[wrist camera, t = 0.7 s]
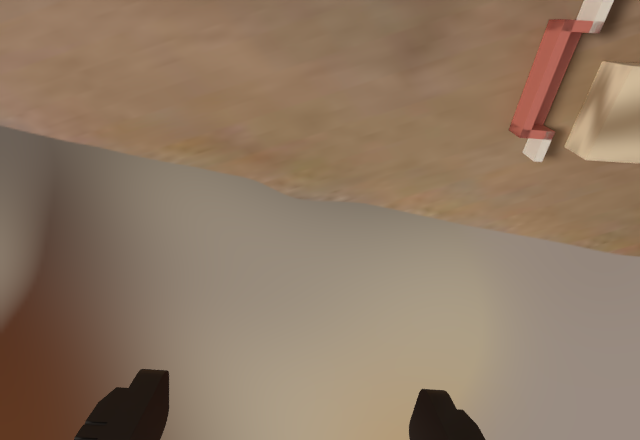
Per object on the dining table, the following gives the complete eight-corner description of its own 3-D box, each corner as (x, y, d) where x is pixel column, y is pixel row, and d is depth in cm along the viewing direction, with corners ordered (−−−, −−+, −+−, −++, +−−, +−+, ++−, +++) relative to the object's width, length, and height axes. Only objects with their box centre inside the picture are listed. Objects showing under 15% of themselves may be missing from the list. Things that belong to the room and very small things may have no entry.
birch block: (600, 60, 29) (632, 66, 26) (693, 65, 29) (739, 71, 25) (562, 145, 34) (585, 160, 30) (643, 150, 33) (676, 165, 30)
